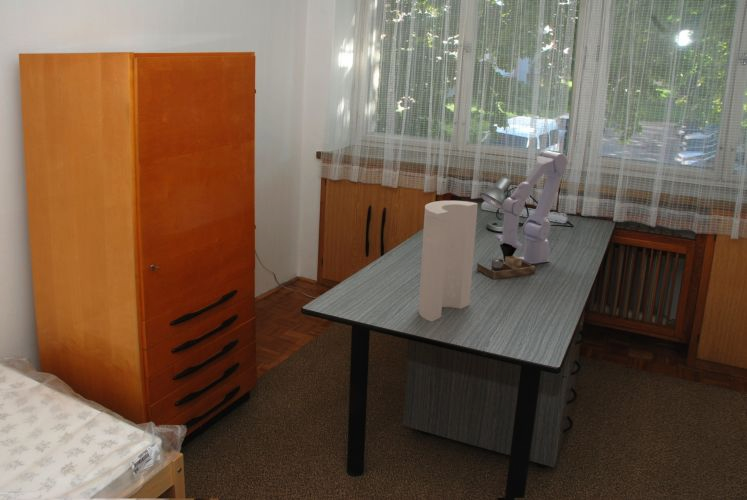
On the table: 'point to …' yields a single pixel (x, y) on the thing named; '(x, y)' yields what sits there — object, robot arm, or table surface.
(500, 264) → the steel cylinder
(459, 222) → the white curved column
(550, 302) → the table surface
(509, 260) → the maple block
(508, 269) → the rack
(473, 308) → the table surface
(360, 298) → the table surface
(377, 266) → the table surface
